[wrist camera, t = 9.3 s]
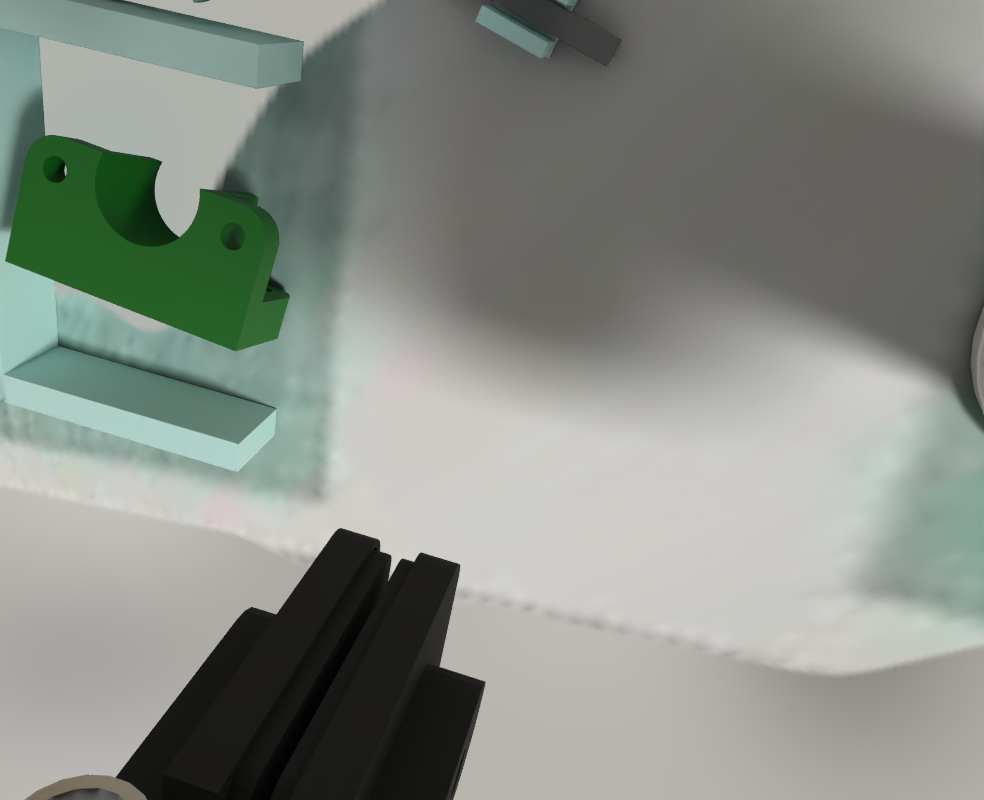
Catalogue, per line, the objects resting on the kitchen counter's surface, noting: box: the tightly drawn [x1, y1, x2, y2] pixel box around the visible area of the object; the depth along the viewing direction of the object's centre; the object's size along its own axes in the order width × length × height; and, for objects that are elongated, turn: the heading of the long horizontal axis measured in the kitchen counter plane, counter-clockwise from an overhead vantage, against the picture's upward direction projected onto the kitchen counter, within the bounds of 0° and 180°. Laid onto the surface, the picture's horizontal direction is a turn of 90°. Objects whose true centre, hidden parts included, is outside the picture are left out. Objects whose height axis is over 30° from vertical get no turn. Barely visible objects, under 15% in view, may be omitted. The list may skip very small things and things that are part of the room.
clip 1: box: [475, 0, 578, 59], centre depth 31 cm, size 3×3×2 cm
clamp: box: [5, 135, 290, 351], centre depth 37 cm, size 12×6×9 cm, turn 67°
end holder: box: [0, 0, 304, 472], centre depth 38 cm, size 14×20×4 cm
